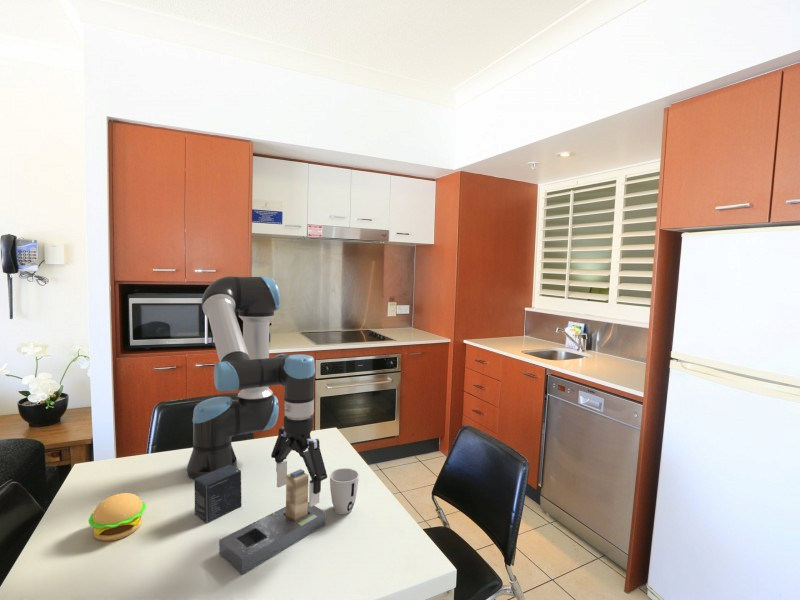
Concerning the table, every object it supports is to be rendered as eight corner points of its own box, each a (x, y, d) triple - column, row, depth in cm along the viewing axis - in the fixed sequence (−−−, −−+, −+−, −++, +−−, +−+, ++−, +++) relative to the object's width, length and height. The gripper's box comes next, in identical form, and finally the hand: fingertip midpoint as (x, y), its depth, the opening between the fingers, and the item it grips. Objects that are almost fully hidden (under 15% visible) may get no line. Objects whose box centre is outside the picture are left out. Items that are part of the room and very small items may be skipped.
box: (229, 498, 120) (229, 463, 119) (242, 506, 116) (242, 470, 116) (193, 515, 111) (193, 477, 111) (206, 524, 108) (206, 485, 107)
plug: (285, 526, 107) (286, 472, 106) (298, 520, 111) (299, 467, 110) (294, 533, 105) (296, 477, 104) (307, 526, 108) (308, 471, 107)
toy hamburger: (85, 551, 96) (85, 516, 95) (91, 524, 106) (91, 492, 105) (146, 535, 102) (146, 502, 102) (146, 511, 112) (145, 480, 112)
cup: (352, 519, 112) (353, 483, 111) (324, 514, 113) (325, 479, 113) (361, 503, 120) (362, 470, 119) (335, 499, 121) (335, 466, 121)
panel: (219, 554, 96) (219, 539, 96) (301, 510, 115) (301, 497, 115) (241, 574, 90) (242, 558, 90) (325, 524, 109) (325, 511, 109)
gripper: (258, 407, 111) (257, 483, 112) (319, 432, 95) (317, 520, 96) (282, 401, 116) (281, 473, 118) (342, 423, 101) (340, 506, 102)
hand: (297, 494), depth 107 cm, fingers open, 13 cm apart
